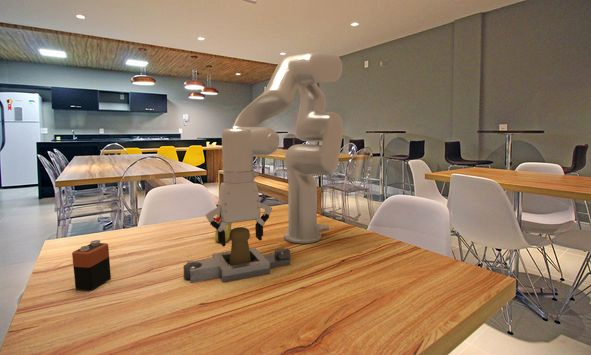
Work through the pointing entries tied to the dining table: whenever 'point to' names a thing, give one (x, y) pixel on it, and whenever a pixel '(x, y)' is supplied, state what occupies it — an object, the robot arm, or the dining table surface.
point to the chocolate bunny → (226, 229)
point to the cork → (239, 246)
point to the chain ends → (235, 266)
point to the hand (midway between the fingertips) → (241, 241)
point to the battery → (91, 265)
